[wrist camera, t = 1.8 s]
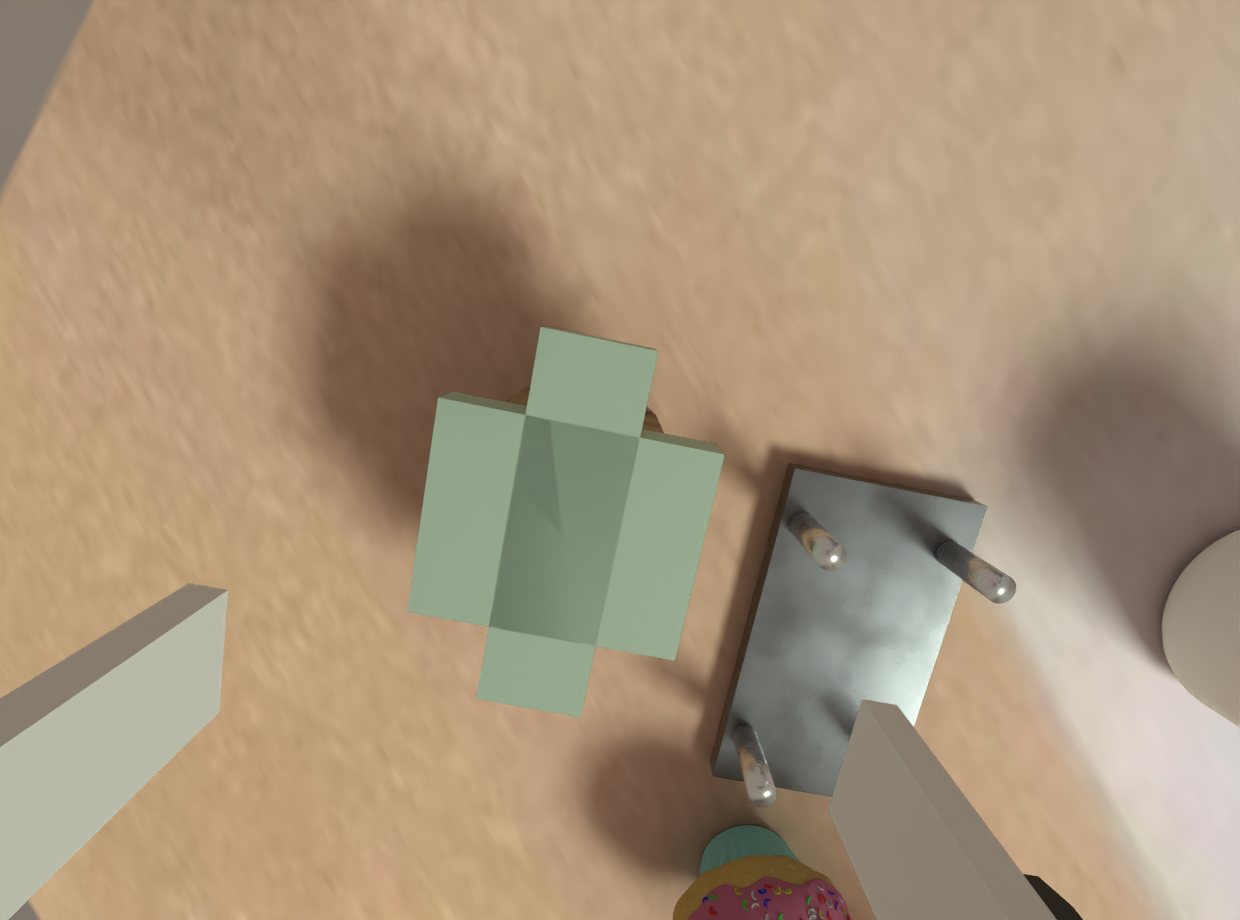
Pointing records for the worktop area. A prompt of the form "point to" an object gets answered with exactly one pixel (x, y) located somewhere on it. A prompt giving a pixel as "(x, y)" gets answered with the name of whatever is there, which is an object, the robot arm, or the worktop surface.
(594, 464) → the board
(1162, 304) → the worktop surface
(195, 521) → the worktop surface
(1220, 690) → the cup
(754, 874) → the cupcake
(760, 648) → the chassis
